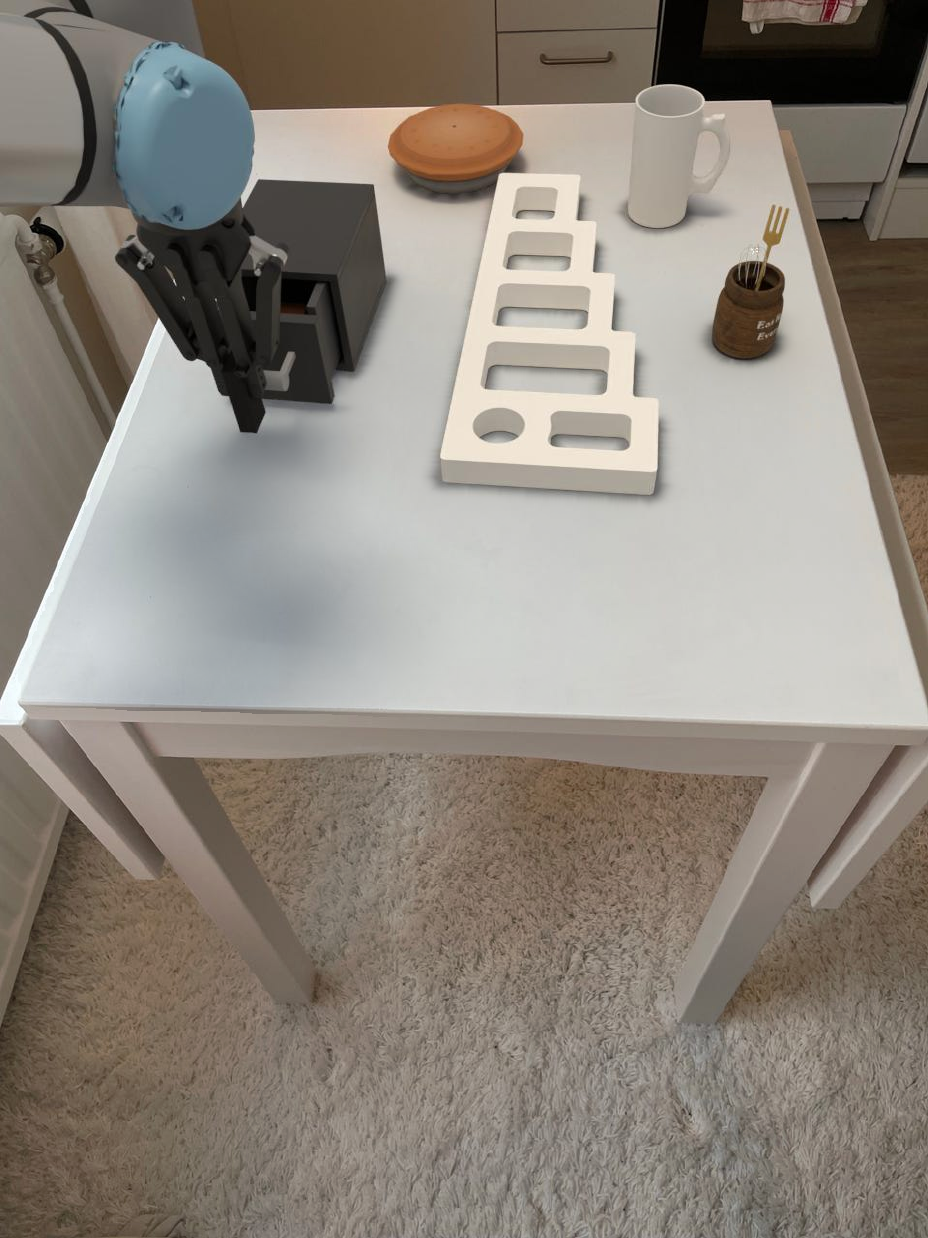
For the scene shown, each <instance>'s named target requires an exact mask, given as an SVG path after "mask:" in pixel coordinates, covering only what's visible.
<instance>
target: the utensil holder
mask: <svg viewBox="0 0 928 1238" xmlns="http://www.w3.org/2000/svg"><path fill="white" fill-rule="evenodd" d="M775 210H776V204H772V205H771V207H770V212H769V215H768V219H767V222H766V225H765V228H764V232H763V236H762V241H763V242H764V243H765V244H766V248H764V247H761V246H760V245H759V244H757V246H754V245H753V244H750V245H749V246H748V247H746V248H744V249H743V250H742V251H741V252H740V257H739V263H736V264H735V265H733V266H732V267H731V268H730V269H729V271H728V273H727V275H726V278H725V280H724V287H723V288H721V290H720V293H719V296H718V298H717V302H716V308H715V313H714V316H713V322H712V328H711V338H712V342H713V345H714V346H715V347H716V349H718V350H719V352H721V353H723V354H725V355H727V356H728V357H733V358H735V359H753V358H758V357H760V356H763V355H765V354H767V352H768V351H770V349H771V348H772V347H773V345H774V343H775V340H776V338H777V334H778V330H779V326H780V323H781V319H782V315H783V309H784V305H785V304H784V302H785V301H784V300H785V299H784V291H785V288H786V287H785V286H786V277H785V274H784V272H783V271H782V270H781V269H780V268H778V266H776V265H774V264H771V263H769V262H768V261H769V257H770V254H771V249H772V247H773V246H776V245H779V243H781V240H782V236H783V234H784V230H785V226H786V223H787V219H788V216H789V213H790V208H789V207H786V208H785V210H784V213H783V217H782V220H781V224H780V227H779V231H778V232H777V229H778V225H779V222H780V218H781V215H782V211H783V206H782V205H780V206H779V207H778V209H777V212H776V211H775ZM775 212H776V216H775V220H774V222H773V218H774V214H775ZM772 222H773V226H772V230H770V229H771V225H772ZM751 246H752V247H751ZM761 249H763V250H764V251H765V253H764V251H762V250H761ZM745 250H747V252H746V253H745V254H744V255H743V252H744V251H745ZM752 250H753V251H752ZM755 250H756V254H757V256H756V259H757V260H752V257H753V254H754V252H755ZM751 251H752V253H751V256H750V258H749V260H748V257H746V258H745V259H746V260H745V261H742V260H743V259H744V257H745V256H749V255H748V254H749V252H751ZM759 251H760V252H761V253H762V254H763V255H764V257H763V261H761V260H760V256H759ZM742 255H743V256H742Z"/></svg>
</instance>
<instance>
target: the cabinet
mask: <svg viewBox="0 0 928 1238" xmlns="http://www.w3.org/2000/svg"><path fill="white" fill-rule="evenodd" d="M376 197H377V196H376V191H375V184H374V183H353V182H335V181H334V182H332V181H330V182H329V181H310V180H309V181H308V180H287V179H262V178H261V179H260V178H258V179H257V181H256V183H255V184H254V186H253V188H252V189H251V192H250V193H249V195H248V197H247V199H246V201H245V203H244V205H242V208H243V212H244V214H245V216H246V217H247V219H248V220H249V221H250V222H251V224H252V225H253V227H254V229H255V236H257V237H259V238H260V239H262V240H264V241H265V242H267V243H269V244H270V245H272V246H275V244H276V243H278V242H282V243H285V244H286V245H287V246H288V247H289V248H290V255H289V257H288V259H287V261H286V263H285V265H284V267H283V269H282V272H281V279H298V280H315V281H330V285H331V291H332V296H333V301H334V307H335V312H336V317H337V323H338V328H339V333H340V339H341V344H342V349H343V351H342V354H341V357H340V359H339V362H338V365H337V367H336V370H335V371H341V372H355V370H356V367H357V365H358V362H359V359H360V356H361V353H362V351H363V349H364V345H365V342H366V340H367V337H368V334H369V331H370V328H371V325H372V324H373V323H372V322H373V320H374V317H375V314H376V311H377V308H378V306H379V303H380V300H381V298H382V294H383V292H384V289H385V286H386V284H387V275H386V266H385V259H384V251H383V243H382V236H381V235H382V234H381V227H380V221H379V213H378V206H377V199H376ZM241 270H242V276H246V277H259V276H257V275H255V273H254V268H253V259H252V257H251V256H250V255H249V254H247V256H246V257H245V259H244V261H243V263H242V265H241Z"/></svg>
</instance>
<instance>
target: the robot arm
mask: <svg viewBox="0 0 928 1238" xmlns="http://www.w3.org/2000/svg"><path fill="white" fill-rule="evenodd" d="M198 25H199V24H198V21H197V17H196V12H195V8H194V4H193V1H192V0H0V208H15V207H16V208H18V207H19V208H21V207H115V208H122V209H127V210H130V213H131V215H132V217H133V218H134V220H135V222H136V223H137V226H136V229H135V231H136V233H135V234H129V235H128V236H127V238H126V239H125V240H124V242H123V243H122V245H121V247H120V248H119V249H118V251H117V253H116V254H115V256H114V261H115V263H116V264H117V265H118V266H119V267H120V269H122V270H123V271H124V272H125V273H126V274H127V275H128V276H129V277H130V278H131V279H132V280H133V281H134V282H136V284H137V286H138V287H139V289H140V290H141V293H142V294H143V296H145V298H146V300H147V301H148V303H149V305H150V306H151V308H152V310H153V311H154V313H155V314H156V316H157V318H158V319H159V321H160V322H161V324H162V326H163V327H164V329H165V331H166V332H167V334H168V335H169V337H170V338H171V340H172V342H173V343H174V345H175V347H176V348H177V349H178V351H179V353H180V354H181V356H182V357H183V358H184V359H185V360H186V361H189V362H194V361H196V360H199V361H202V362H203V363H205V365H206V366H207V367H208V368H210V370H211V373H212V376H213V380H214V383H215V385H216V389H217V391H218V393H219V394H220V396H222V397H228V399H229V401H230V404H231V407H232V408H231V409H232V411H233V413H234V416H235V420H236V423H237V426H238V429H239V432H240V433H246V434H258V432H259V429H260V428H261V425H262V422H263V420H264V418H265V415H266V413H267V411H266V407H265V404H264V399H262V395H263V393H264V390H265V388H266V384H267V382H266V378H265V374H264V371H263V367H262V366H269V365H270V364H271V361H272V359H273V357H274V355H275V352H276V350H277V348H278V345H279V339H280V305H281V272H282V269H283V267H284V265H285V263H286V261H287V259H288V257H289V255H290V248H289V247H288V246H287V245H286V244H285V243H282V242H278V243H276V244H275V246H272V245H270V244H269V243H267V242H265V241H264V240H262V239H260V238H259V237H257V236H255V229H254V227H253V225H252V224H251V222H250V221H249V220H248V219H247V217H246V216H245V214H244V212H243V203H242V196H243V194H244V192H245V190H246V188H247V185H248V183H249V182H250V181H249V180H250V177H251V175H252V170H253V165H254V164H253V159H254V156H255V147H254V146H255V142H256V132H255V123H254V120H253V114H252V111H251V108H250V105H249V103H248V100H247V98H246V96H245V93H244V92H243V90H242V89H241V87H240V86H239V85H238V83H237V82H236V80H235V79H234V78H233V77H232V76H231V74H230V73H229V72H227V71H226V70H225V69H224V68H223V67H221V66H220V65H218V64H216V63H214V62H213V61H211V60H208V59H206V55H205V51H204V46H203V41H202V38H201V35H200V34H201V33H200V29H199V26H198ZM247 254H249V255H250V256H251V257H252V259H253V268H254V273H255V275H257V276H259V279H258V282H257V287H256V332H255V328H254V324H253V321H252V317H251V314H250V310H249V306H248V303H247V299H246V296H245V292H244V288H243V285H242V281H241V277H242V270H241V265H242V263H243V261H244V259H245V257H246V256H247ZM169 271H170V272H171V275H172V276H171V275H170V273H169ZM172 277H173V278H172ZM216 300H217V303H218V306H219V309H218V306H217V303H216ZM219 310H220V313H221V316H222V319H223V323H224V326H225V329H226V332H227V336H228V338H227V336H226V333H225V329H224V326H223V323H222V319H221V316H220V313H219ZM228 340H229V343H228ZM230 345H231V349H232V350H231V352H230V354H229V353H228V348H229V346H230Z"/></svg>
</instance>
